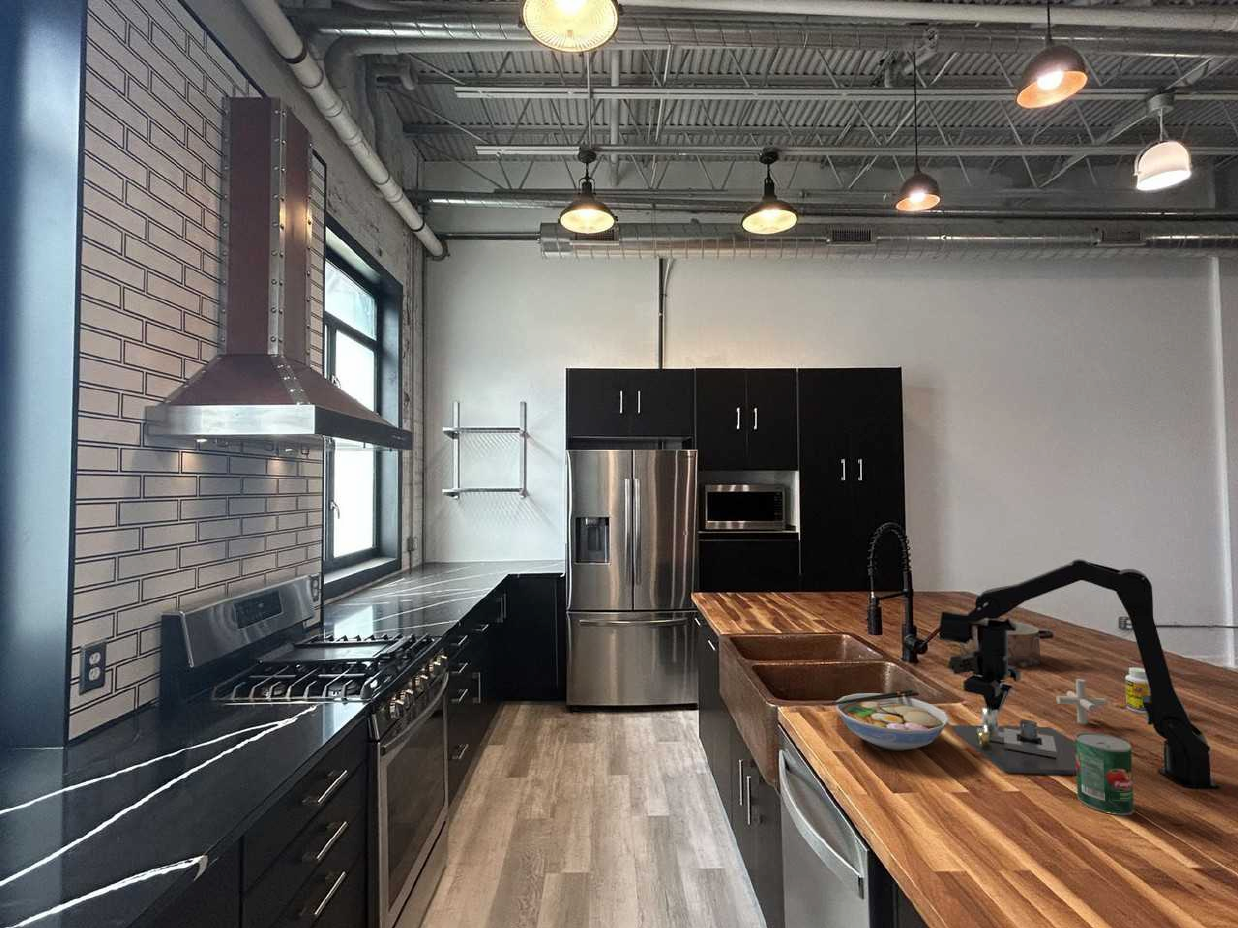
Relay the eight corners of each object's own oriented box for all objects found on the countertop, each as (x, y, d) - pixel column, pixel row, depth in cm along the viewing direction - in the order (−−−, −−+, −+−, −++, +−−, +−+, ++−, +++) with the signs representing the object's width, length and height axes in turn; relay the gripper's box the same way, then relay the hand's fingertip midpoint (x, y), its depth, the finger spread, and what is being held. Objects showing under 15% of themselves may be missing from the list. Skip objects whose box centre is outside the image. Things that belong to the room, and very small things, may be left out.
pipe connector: (1118, 732, 139) (1117, 688, 139) (1069, 729, 141) (1068, 685, 141) (1094, 716, 149) (1092, 675, 149) (1048, 713, 151) (1047, 672, 151)
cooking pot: (944, 660, 199) (943, 627, 200) (950, 645, 218) (949, 615, 218) (1056, 675, 183) (1055, 638, 183) (1053, 657, 202) (1052, 625, 202)
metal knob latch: (1053, 742, 131) (1052, 712, 131) (1056, 757, 123) (1055, 726, 123) (977, 728, 138) (976, 700, 139) (976, 742, 131) (975, 713, 131)
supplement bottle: (1120, 708, 154) (1119, 667, 155) (1136, 705, 156) (1134, 665, 156) (1145, 716, 149) (1143, 673, 149) (1161, 713, 151) (1159, 671, 151)
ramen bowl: (877, 775, 119) (876, 732, 119) (811, 730, 141) (810, 694, 141) (980, 759, 126) (979, 719, 126) (901, 719, 148) (900, 685, 148)
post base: (1123, 776, 118) (1121, 744, 118) (1005, 773, 119) (1004, 742, 119) (1050, 731, 140) (1049, 705, 140) (951, 729, 141) (950, 703, 141)
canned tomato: (1078, 788, 113) (1076, 728, 113) (1133, 802, 108) (1131, 739, 108) (1076, 805, 107) (1073, 742, 107) (1134, 821, 102) (1131, 754, 102)
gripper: (967, 633, 148) (968, 698, 148) (937, 647, 136) (938, 718, 135) (1020, 642, 140) (1021, 711, 140) (993, 658, 128) (995, 733, 127)
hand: (993, 717), depth 136 cm, fingers closed
